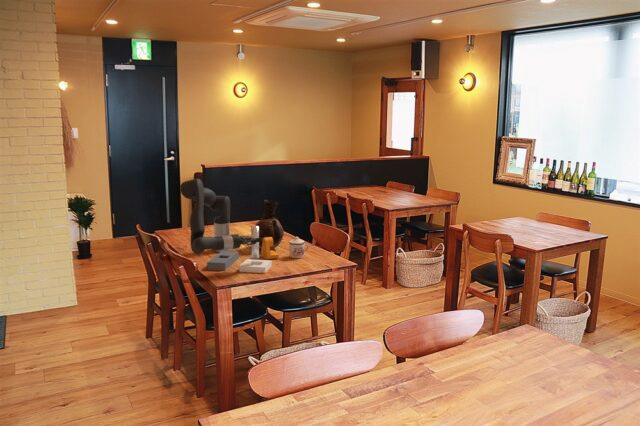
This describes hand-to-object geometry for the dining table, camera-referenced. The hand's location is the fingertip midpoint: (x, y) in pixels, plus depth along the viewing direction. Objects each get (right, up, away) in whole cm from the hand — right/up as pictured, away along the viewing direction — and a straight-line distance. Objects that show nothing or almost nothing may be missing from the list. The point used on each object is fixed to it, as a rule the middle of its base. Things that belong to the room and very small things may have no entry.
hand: (260, 238), depth 304 cm
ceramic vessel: (0, -8, +45) cm, 46 cm away
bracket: (+3, -12, +25) cm, 28 cm away
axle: (-3, -10, 0) cm, 10 cm away
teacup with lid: (+20, -12, +27) cm, 36 cm away
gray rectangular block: (-21, -14, +11) cm, 28 cm away
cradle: (-2, -16, +2) cm, 16 cm away
